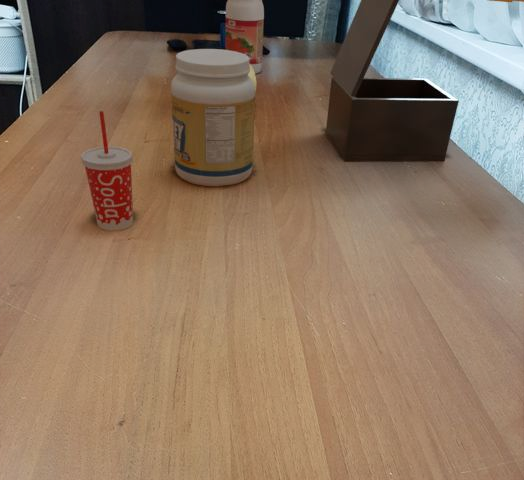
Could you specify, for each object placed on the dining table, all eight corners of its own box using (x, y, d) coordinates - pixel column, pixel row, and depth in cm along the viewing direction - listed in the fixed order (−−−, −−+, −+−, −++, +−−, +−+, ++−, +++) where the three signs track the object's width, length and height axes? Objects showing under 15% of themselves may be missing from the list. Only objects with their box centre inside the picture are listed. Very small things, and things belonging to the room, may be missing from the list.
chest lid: (383, -41, 92) (356, -55, 91) (414, -33, 81) (384, -49, 79) (333, 75, 102) (309, 64, 101) (354, 97, 91) (327, 85, 89)
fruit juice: (269, 72, 147) (275, -61, 130) (241, 77, 142) (244, -61, 125) (245, 65, 153) (248, -64, 136) (218, 69, 148) (217, -64, 130)
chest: (415, 133, 111) (426, 78, 105) (444, 161, 99) (459, 100, 93) (325, 133, 109) (331, 77, 102) (344, 161, 97) (352, 99, 91)
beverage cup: (84, 230, 73) (65, 116, 64) (101, 211, 77) (85, 102, 69) (130, 235, 72) (117, 121, 64) (145, 215, 77) (135, 106, 68)
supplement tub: (167, 164, 92) (159, 48, 82) (238, 157, 96) (239, 46, 86) (186, 193, 83) (181, 67, 73) (264, 184, 87) (269, 63, 77)
